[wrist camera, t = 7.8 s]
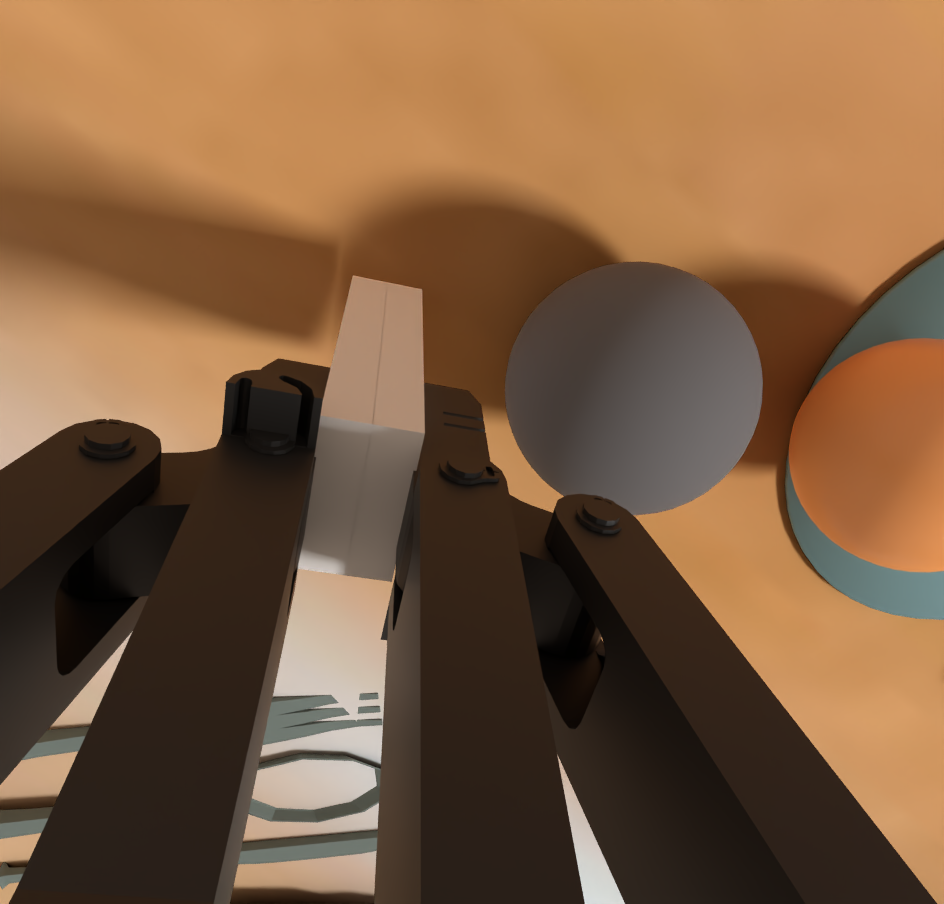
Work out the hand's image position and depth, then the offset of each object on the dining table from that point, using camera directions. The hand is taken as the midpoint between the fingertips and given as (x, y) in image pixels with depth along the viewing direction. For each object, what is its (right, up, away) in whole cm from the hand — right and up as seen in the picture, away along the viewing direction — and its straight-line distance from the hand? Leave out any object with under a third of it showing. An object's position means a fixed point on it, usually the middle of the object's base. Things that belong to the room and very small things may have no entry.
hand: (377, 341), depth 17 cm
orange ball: (+13, -2, +1) cm, 13 cm away
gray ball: (+6, -1, 0) cm, 6 cm away
